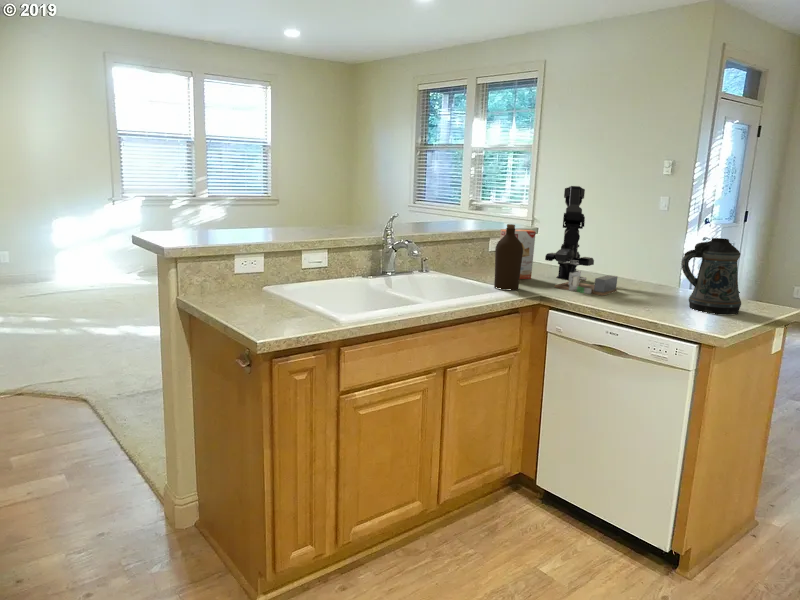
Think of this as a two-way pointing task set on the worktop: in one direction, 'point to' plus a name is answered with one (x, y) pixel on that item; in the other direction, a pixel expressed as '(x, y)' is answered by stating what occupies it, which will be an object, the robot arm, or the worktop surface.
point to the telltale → (575, 281)
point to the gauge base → (582, 288)
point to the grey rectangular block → (605, 283)
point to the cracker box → (525, 250)
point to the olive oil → (508, 260)
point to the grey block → (575, 273)
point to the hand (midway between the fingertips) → (567, 280)
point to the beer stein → (714, 277)
